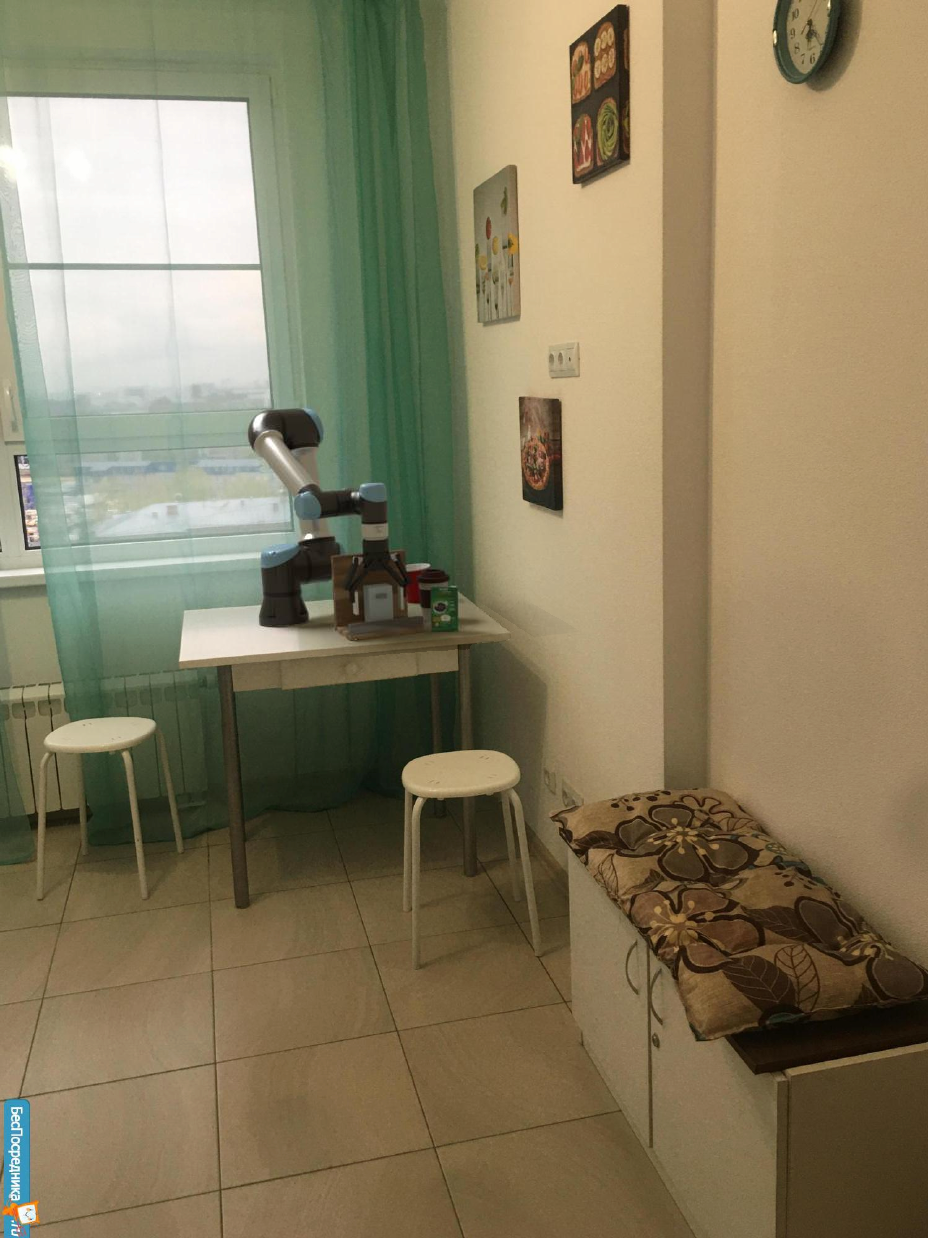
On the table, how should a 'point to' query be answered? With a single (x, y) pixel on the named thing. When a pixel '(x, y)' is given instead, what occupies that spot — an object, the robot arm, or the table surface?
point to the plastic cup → (414, 581)
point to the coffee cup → (425, 582)
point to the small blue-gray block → (378, 602)
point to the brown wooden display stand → (343, 608)
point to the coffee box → (444, 608)
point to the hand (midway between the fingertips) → (378, 611)
